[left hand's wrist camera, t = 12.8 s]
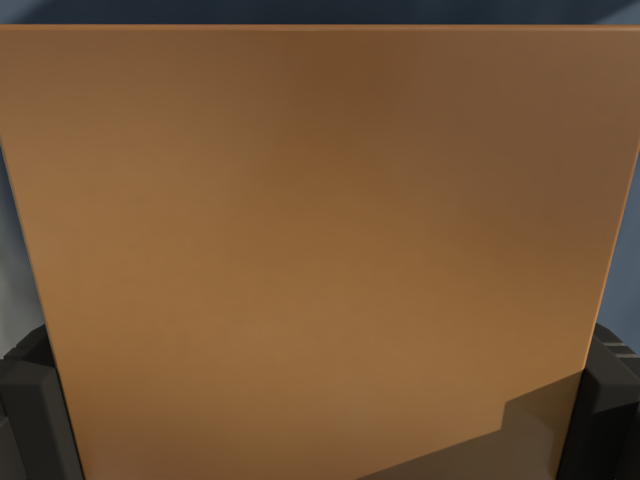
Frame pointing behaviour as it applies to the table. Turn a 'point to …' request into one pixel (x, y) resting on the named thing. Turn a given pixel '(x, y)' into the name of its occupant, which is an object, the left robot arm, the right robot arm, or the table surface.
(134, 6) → the table surface
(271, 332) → the thick board
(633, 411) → the left robot arm
